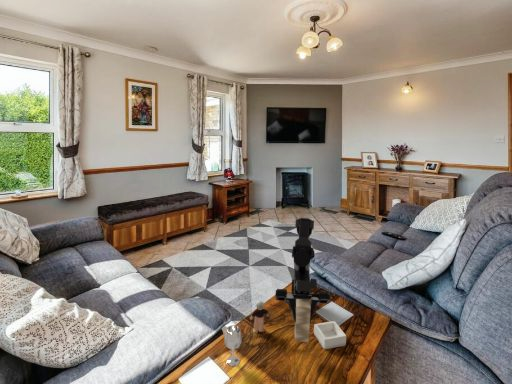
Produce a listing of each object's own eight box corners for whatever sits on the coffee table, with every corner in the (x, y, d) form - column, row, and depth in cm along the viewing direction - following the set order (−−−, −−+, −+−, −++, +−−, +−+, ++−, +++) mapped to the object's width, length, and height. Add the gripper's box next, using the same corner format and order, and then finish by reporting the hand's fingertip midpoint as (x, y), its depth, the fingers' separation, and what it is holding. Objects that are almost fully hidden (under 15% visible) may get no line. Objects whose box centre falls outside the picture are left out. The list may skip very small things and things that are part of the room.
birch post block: (295, 341, 97) (296, 306, 94) (294, 332, 101) (296, 298, 98) (308, 342, 96) (310, 307, 94) (307, 333, 101) (309, 299, 98)
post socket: (324, 349, 103) (324, 339, 102) (313, 333, 111) (314, 324, 110) (345, 345, 105) (346, 335, 104) (333, 330, 113) (334, 321, 112)
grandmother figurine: (253, 336, 109) (253, 306, 106) (248, 330, 112) (249, 301, 109) (270, 330, 112) (271, 301, 110) (265, 324, 115) (266, 296, 113)
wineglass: (224, 355, 99) (224, 324, 97) (241, 354, 100) (241, 323, 97) (224, 368, 94) (224, 336, 91) (242, 367, 94) (242, 335, 92)
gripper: (276, 267, 99) (274, 316, 90) (331, 270, 97) (335, 320, 88) (276, 277, 108) (274, 322, 99) (326, 280, 106) (329, 326, 98)
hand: (302, 322), depth 96 cm, fingers closed on birch post block, 4 cm apart
